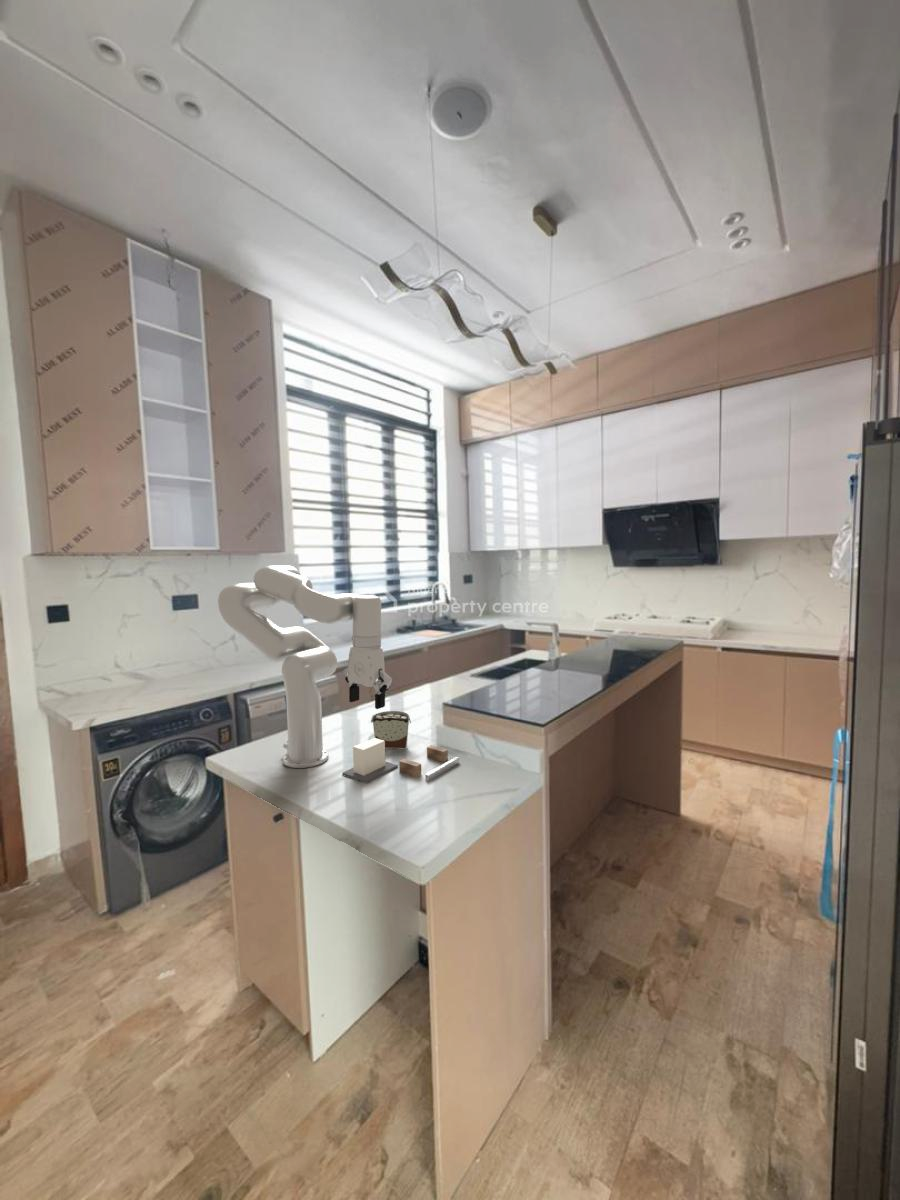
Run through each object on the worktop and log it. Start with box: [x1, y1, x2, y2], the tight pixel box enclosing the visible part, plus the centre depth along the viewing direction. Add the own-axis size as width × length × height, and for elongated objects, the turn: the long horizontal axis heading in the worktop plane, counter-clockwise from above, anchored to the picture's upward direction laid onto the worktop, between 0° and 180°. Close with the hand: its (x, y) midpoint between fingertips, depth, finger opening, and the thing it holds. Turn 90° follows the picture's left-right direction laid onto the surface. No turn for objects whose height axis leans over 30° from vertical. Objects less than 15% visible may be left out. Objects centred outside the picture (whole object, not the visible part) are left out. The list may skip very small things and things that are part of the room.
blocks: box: [398, 744, 460, 782], centre depth 135 cm, size 10×14×3 cm
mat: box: [342, 760, 399, 784], centre depth 133 cm, size 9×12×1 cm
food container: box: [370, 710, 412, 750], centre depth 152 cm, size 12×6×10 cm, turn 84°
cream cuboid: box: [352, 737, 386, 775], centre depth 133 cm, size 4×8×7 cm, turn 144°
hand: (366, 704), depth 132 cm, fingers open, 9 cm apart
